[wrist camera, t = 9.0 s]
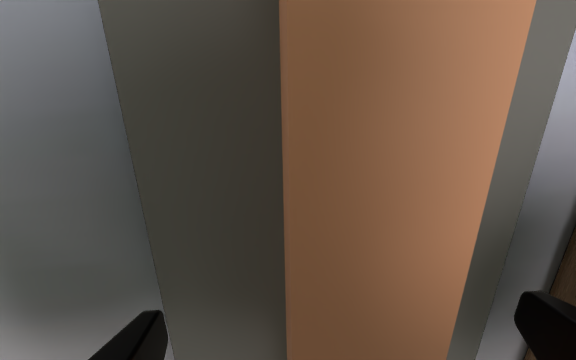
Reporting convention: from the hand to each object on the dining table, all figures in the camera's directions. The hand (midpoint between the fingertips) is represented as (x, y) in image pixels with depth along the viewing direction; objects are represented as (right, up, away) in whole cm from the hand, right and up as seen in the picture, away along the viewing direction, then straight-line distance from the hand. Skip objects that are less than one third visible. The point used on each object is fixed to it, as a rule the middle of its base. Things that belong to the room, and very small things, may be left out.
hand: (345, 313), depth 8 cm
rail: (0, 0, +1) cm, 1 cm away
